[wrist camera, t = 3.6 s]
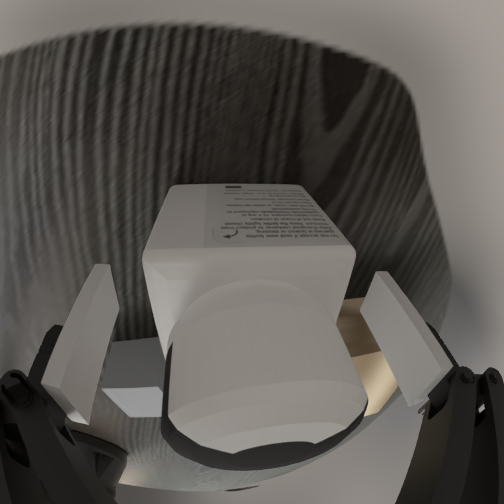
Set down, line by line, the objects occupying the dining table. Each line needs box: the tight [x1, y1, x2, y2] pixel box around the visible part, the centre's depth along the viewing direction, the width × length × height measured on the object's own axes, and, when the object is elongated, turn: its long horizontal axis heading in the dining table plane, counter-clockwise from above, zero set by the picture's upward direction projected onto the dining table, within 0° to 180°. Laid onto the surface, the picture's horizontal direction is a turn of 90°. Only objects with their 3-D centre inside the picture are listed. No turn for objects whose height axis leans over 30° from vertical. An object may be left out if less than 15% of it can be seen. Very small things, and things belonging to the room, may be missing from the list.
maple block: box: [336, 297, 398, 416], centre depth 22 cm, size 12×12×6 cm
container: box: [142, 184, 368, 471], centre depth 12 cm, size 8×8×13 cm
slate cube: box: [101, 337, 166, 417], centre depth 21 cm, size 5×5×5 cm
